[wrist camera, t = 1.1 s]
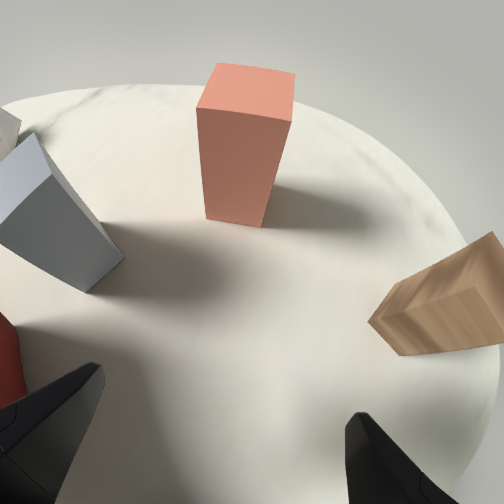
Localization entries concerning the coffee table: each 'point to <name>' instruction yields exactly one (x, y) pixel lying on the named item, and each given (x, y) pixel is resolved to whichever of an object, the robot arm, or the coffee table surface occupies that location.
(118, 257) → the slate pillar
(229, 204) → the salmon block
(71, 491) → the coffee table surface
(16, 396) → the plant pot
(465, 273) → the walnut pillar
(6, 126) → the die
